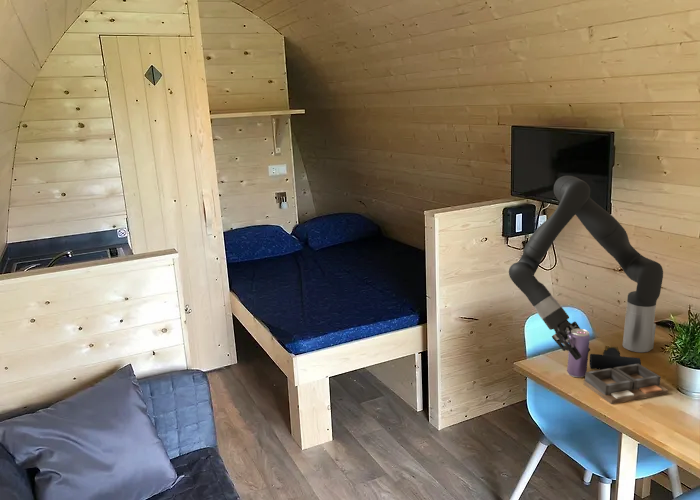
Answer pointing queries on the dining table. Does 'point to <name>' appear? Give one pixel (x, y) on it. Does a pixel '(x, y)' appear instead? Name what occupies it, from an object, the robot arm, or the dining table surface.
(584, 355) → the beverage can
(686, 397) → the dining table surface
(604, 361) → the pipe connector
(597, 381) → the socket board
